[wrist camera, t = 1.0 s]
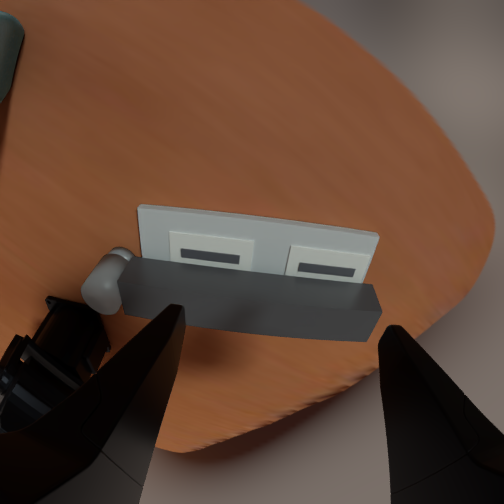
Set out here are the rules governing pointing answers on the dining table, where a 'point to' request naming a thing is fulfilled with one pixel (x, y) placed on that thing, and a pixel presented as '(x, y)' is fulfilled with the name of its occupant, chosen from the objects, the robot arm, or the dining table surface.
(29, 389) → the robot arm
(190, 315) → the bar
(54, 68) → the dining table surface
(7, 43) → the flower pot
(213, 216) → the label board
